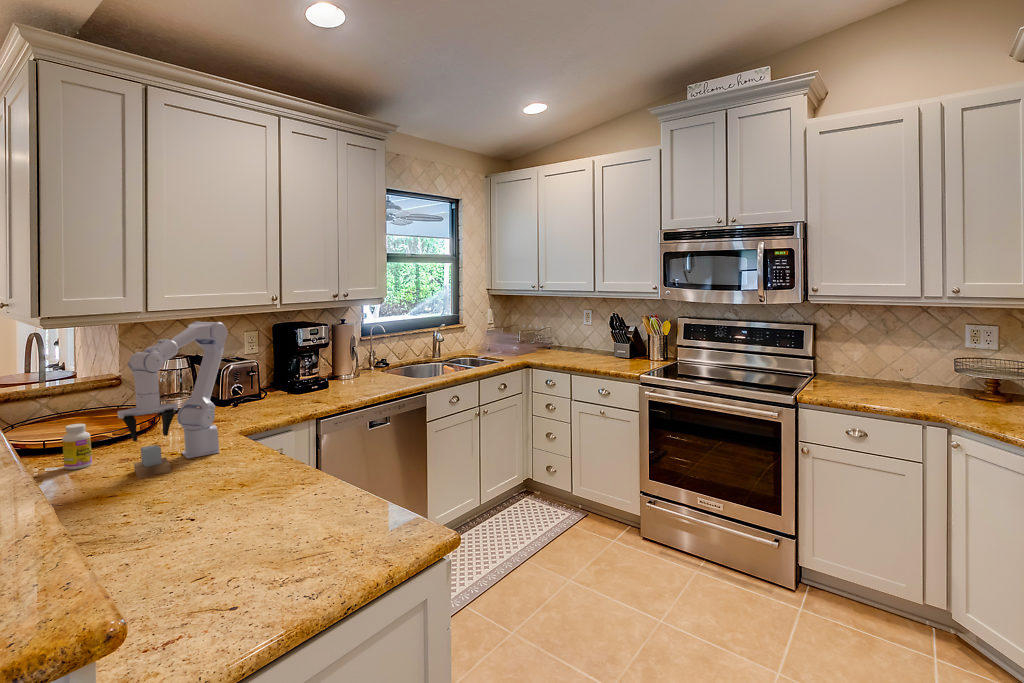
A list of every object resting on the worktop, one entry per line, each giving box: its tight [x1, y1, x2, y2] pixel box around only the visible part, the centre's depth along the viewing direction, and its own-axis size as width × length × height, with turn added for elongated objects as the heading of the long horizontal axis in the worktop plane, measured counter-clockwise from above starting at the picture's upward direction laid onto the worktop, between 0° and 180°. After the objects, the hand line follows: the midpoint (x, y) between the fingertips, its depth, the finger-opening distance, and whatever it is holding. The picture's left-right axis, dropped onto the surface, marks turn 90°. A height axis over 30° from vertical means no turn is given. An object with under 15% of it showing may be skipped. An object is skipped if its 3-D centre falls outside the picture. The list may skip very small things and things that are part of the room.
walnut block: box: [133, 456, 172, 480], centre depth 156 cm, size 8×8×3 cm
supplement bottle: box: [61, 423, 93, 471], centre depth 159 cm, size 7×7×13 cm
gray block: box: [140, 444, 162, 467], centre depth 155 cm, size 4×4×5 cm
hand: (150, 437), depth 155 cm, fingers open, 7 cm apart
